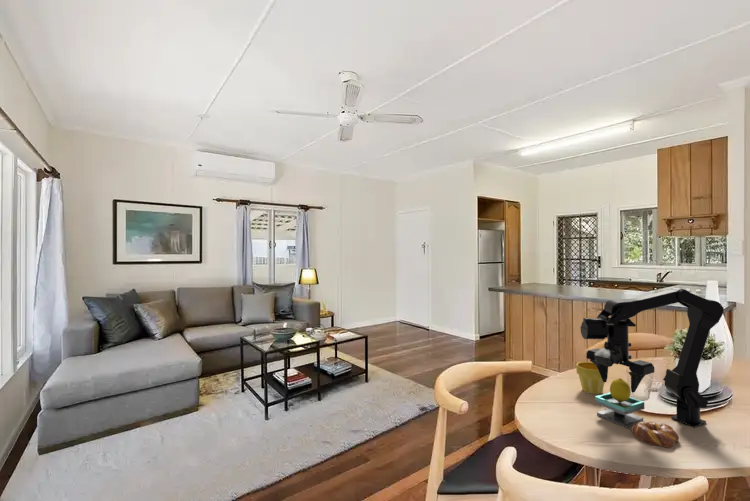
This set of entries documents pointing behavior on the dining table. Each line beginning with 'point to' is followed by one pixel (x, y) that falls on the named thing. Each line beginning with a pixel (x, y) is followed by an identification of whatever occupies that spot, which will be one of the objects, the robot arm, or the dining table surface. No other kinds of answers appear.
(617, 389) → the lemon
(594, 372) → the plant pot
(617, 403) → the teal tray on stand
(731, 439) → the dining table surface
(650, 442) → the pretzel
